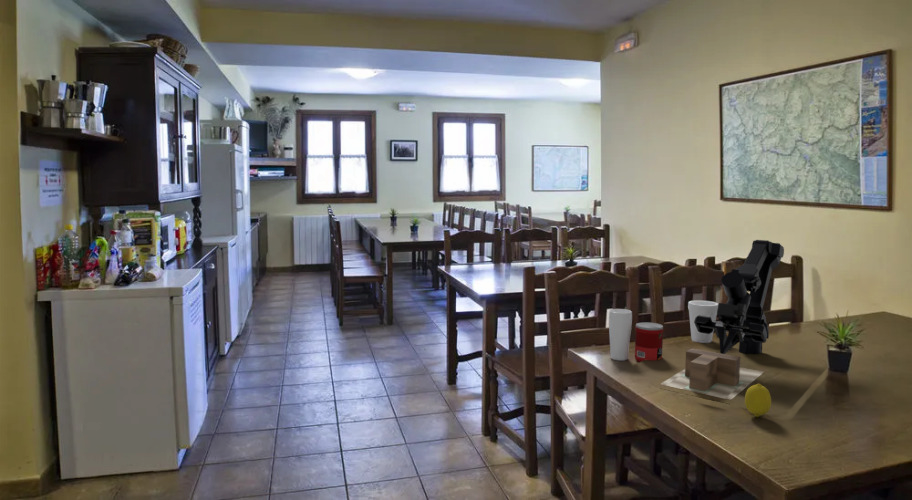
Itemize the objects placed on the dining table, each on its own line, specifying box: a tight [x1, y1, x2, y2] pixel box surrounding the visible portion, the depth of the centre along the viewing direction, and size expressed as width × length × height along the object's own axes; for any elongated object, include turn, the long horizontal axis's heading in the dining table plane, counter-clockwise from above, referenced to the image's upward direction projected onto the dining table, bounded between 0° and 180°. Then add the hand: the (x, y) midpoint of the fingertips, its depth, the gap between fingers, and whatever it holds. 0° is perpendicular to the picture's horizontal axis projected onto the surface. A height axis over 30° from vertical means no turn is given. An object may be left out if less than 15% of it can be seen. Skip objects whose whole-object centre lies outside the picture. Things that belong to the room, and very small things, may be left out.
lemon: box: [744, 383, 772, 418], centre depth 146 cm, size 6×6×8 cm
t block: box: [684, 347, 741, 391], centre depth 166 cm, size 13×13×7 cm
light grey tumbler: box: [608, 308, 633, 362], centre depth 192 cm, size 7×7×15 cm
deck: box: [659, 367, 765, 405], centre depth 171 cm, size 29×18×1 cm, turn 139°
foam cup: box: [687, 299, 719, 344], centre depth 214 cm, size 10×9×13 cm
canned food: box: [634, 322, 664, 363], centre depth 191 cm, size 8×8×11 cm
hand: (722, 353), depth 175 cm, fingers closed
